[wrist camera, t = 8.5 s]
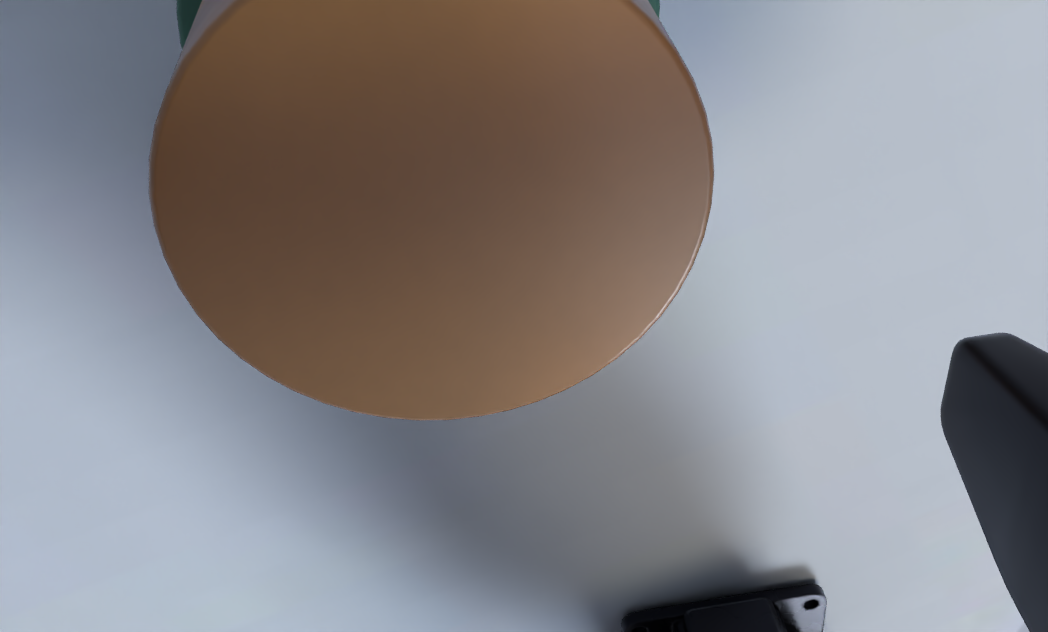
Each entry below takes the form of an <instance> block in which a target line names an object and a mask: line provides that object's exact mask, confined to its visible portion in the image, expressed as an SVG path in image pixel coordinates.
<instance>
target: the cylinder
mask: <svg viewBox="0 0 1048 632" xmlns="http://www.w3.org/2000/svg"><path fill="white" fill-rule="evenodd" d="M713 181H714V163H713V147H712V139H711V134H710V129H709V125H708V120H707V115H706V111H705V108H704V105H703V103H702V100H701V97H700V95H699V92H698V90H697V87H696V84H695V82H694V79H693V77H692V75H691V74H690V72H689V70H688V68H687V67H686V65H685V63H684V61H683V60H682V58H681V56H680V54H679V53H678V51H677V49H676V47H675V46H674V44H673V42H672V40H671V39H670V37H669V35H668V34H667V32H666V30H665V28H664V27H663V25H662V23H661V22H660V20H659V18H658V16H657V15H656V13H655V11H654V10H653V8H652V6H651V4H650V3H649V1H648V0H202V2H201V4H200V7H199V9H198V12H197V14H196V17H195V19H194V22H193V24H192V27H191V29H190V32H189V34H188V37H187V39H186V42H185V44H184V47H183V49H182V52H181V54H180V57H179V59H178V62H177V64H176V67H175V69H174V72H173V74H172V77H171V79H170V82H169V84H168V87H167V89H166V92H165V95H164V98H163V101H162V104H161V107H160V110H159V113H158V116H157V119H156V122H155V125H154V131H153V137H152V143H151V149H150V155H149V198H150V204H151V210H152V217H153V223H154V227H155V231H156V234H157V237H158V240H159V243H160V246H161V249H162V253H163V256H164V258H165V260H166V262H167V264H168V266H169V268H170V270H171V272H172V274H173V277H174V279H175V281H176V283H177V285H178V287H179V289H180V290H181V292H182V293H183V295H184V296H185V298H186V299H187V301H188V302H189V303H190V305H191V306H192V308H193V309H194V311H195V312H196V314H197V315H198V316H199V317H200V319H201V320H202V321H203V322H204V323H205V324H206V325H207V326H208V328H209V329H210V330H211V331H212V332H213V333H214V334H215V335H216V337H217V338H218V339H219V340H221V341H222V342H223V343H224V344H225V345H226V346H227V347H229V348H230V349H231V350H232V351H233V352H234V353H235V354H236V355H238V356H239V357H240V358H241V359H242V360H244V361H245V362H247V363H248V364H250V365H251V366H253V367H254V368H255V369H257V370H258V371H260V372H261V373H263V374H264V375H266V376H267V377H269V378H271V379H273V380H274V381H276V382H278V383H280V384H282V385H284V386H286V387H287V388H289V389H291V390H293V391H295V392H297V393H300V394H302V395H305V396H307V397H310V398H312V399H315V400H317V401H320V402H322V403H325V404H328V405H332V406H335V407H339V408H342V409H346V410H349V411H352V412H357V413H362V414H368V415H373V416H379V417H384V418H395V419H406V420H452V419H461V418H470V417H479V416H484V415H489V414H494V413H498V412H503V411H508V410H512V409H515V408H518V407H521V406H525V405H528V404H531V403H534V402H538V401H540V400H542V399H545V398H547V397H549V396H552V395H554V394H557V393H559V392H561V391H564V390H566V389H568V388H570V387H572V386H573V385H575V384H577V383H579V382H581V381H583V380H585V379H586V378H588V377H590V376H592V375H594V374H595V373H596V372H598V371H599V370H601V369H602V368H604V367H605V366H607V365H608V364H609V363H611V362H612V361H614V360H615V359H617V358H618V357H619V356H620V355H622V354H623V353H624V352H625V351H626V350H627V349H629V348H630V347H631V346H632V345H633V344H634V343H635V342H637V341H638V340H639V339H640V338H641V337H642V336H643V335H644V334H645V333H646V332H647V331H648V329H649V328H650V327H651V326H652V325H653V324H654V323H655V322H656V321H657V320H658V319H659V318H660V316H661V315H662V314H663V312H664V311H665V310H666V308H667V307H668V306H669V304H670V303H671V301H672V300H673V299H674V297H675V296H676V294H677V293H678V292H679V290H680V288H681V286H682V284H683V282H684V281H685V279H686V277H687V275H688V273H689V272H690V270H691V268H692V266H693V264H694V261H695V258H696V256H697V253H698V251H699V248H700V246H701V243H702V240H703V238H704V234H705V230H706V226H707V222H708V217H709V213H710V209H711V204H712V193H713Z"/></svg>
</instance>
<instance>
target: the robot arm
mask: <svg viewBox="0 0 1048 632" xmlns="http://www.w3.org/2000/svg"><path fill="white" fill-rule="evenodd" d="M941 423H942V428H943V432H944V435H945V438H946V440H947V443H948V445H949V448H950V450H951V453H952V455H953V458H954V460H955V463H956V465H957V468H958V470H959V473H960V475H961V477H962V480H963V482H964V485H965V487H966V490H967V492H968V495H969V497H970V500H971V502H972V505H973V507H974V510H975V512H976V515H977V517H978V520H979V522H980V525H981V527H982V530H983V532H984V535H985V537H986V540H987V542H988V545H989V547H990V550H991V552H992V555H993V557H994V560H995V562H996V564H997V567H998V569H999V571H1000V573H1001V576H1002V578H1003V580H1004V583H1005V585H1006V587H1007V589H1008V591H1009V593H1010V595H1011V597H1012V599H1013V601H1014V603H1015V605H1016V607H1017V609H1018V611H1019V613H1020V614H1021V616H1022V618H1023V620H1024V622H1025V624H1026V626H1027V627H1028V629H1029V631H1030V632H1048V353H1047V352H1045V351H1043V350H1041V349H1039V348H1037V347H1035V346H1033V345H1032V344H1030V343H1028V342H1026V341H1024V340H1022V339H1020V338H1018V337H1016V336H1014V335H1011V334H1008V333H994V334H988V335H981V336H974V337H968V338H964V339H962V340H960V341H959V342H958V343H957V344H956V346H955V347H954V350H953V353H952V357H951V361H950V366H949V371H948V376H947V380H946V385H945V390H944V394H943V399H942V404H941ZM826 604H827V601H826V597H825V595H824V592H823V590H822V588H821V587H820V586H819V585H815V584H807V585H801V586H794V587H788V588H782V589H776V590H769V591H763V592H757V593H750V594H744V595H738V596H732V597H725V598H719V599H713V600H707V601H700V602H694V603H688V604H681V605H675V606H669V607H663V608H656V609H650V610H644V611H638V612H633V613H630V614H628V615H627V616H625V617H624V618H623V619H622V623H621V627H622V632H823V626H824V618H825V611H826Z"/></svg>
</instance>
